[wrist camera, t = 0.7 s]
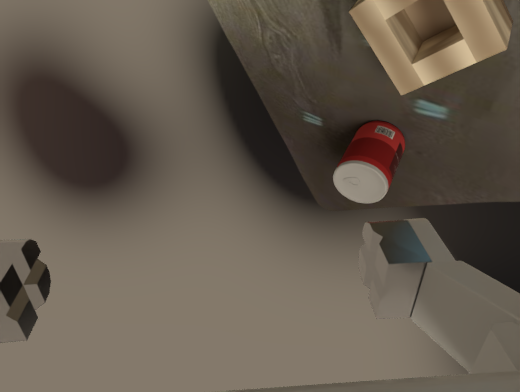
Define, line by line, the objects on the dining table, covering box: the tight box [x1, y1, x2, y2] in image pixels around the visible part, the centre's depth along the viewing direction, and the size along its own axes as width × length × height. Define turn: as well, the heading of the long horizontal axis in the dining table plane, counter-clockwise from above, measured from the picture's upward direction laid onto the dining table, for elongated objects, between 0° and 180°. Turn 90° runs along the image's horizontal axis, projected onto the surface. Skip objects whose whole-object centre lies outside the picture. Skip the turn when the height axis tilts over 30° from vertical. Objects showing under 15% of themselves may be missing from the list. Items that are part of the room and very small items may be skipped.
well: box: [349, 0, 513, 95], centre depth 46 cm, size 12×12×7 cm
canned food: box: [333, 121, 405, 203], centre depth 62 cm, size 8×8×11 cm
